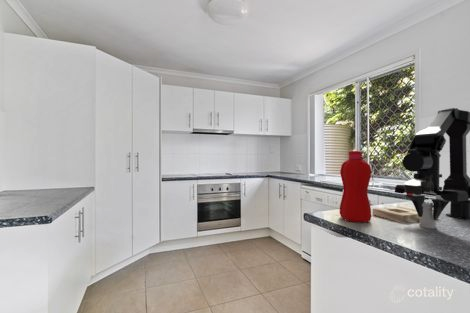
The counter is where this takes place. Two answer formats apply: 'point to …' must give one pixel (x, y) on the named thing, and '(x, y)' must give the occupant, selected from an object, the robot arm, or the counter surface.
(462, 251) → the counter surface
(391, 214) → the socket block
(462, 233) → the counter surface
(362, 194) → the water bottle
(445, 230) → the counter surface
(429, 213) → the rook chess piece
